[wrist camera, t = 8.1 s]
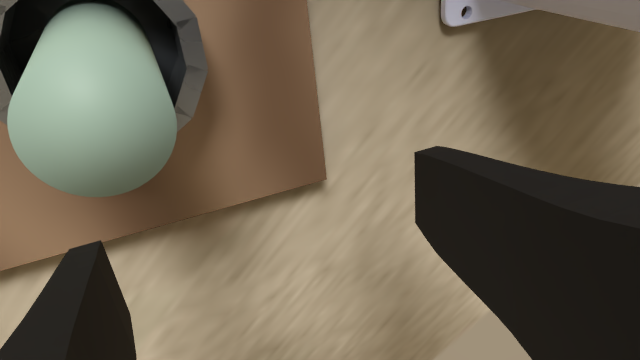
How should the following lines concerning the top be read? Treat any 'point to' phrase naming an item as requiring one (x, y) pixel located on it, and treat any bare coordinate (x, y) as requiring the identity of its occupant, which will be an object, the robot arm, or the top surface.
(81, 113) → the peg
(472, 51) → the top surface
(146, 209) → the cup bracket
